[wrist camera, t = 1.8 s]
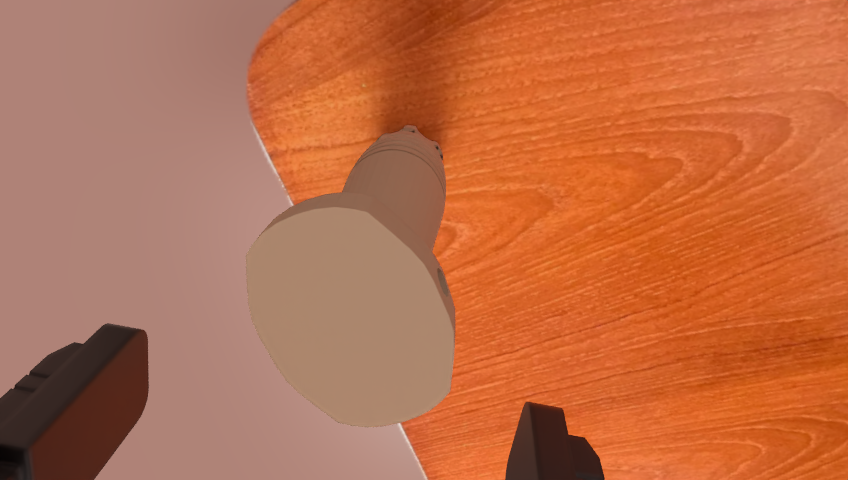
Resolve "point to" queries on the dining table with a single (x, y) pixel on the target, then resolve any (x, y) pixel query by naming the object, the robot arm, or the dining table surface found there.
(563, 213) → the dining table surface
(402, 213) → the handle
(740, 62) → the dining table surface
